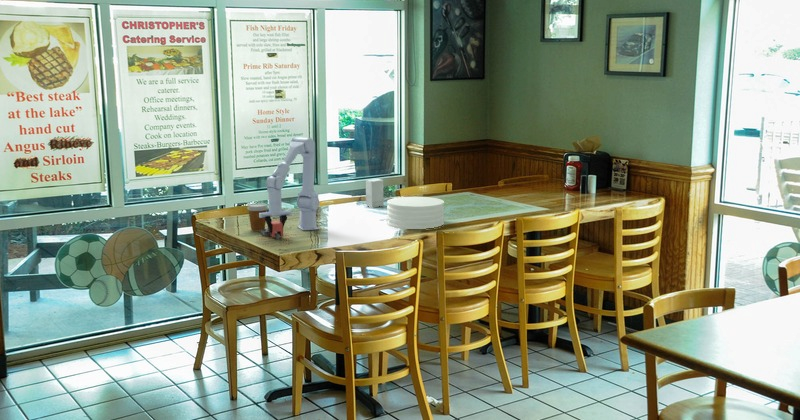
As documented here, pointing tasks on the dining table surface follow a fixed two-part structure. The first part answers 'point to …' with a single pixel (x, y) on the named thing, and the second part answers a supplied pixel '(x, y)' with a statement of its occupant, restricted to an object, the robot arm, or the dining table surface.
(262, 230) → the lip
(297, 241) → the dining table surface
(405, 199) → the plate stack
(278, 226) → the block
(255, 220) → the disposable coffee cup
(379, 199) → the skincare box
